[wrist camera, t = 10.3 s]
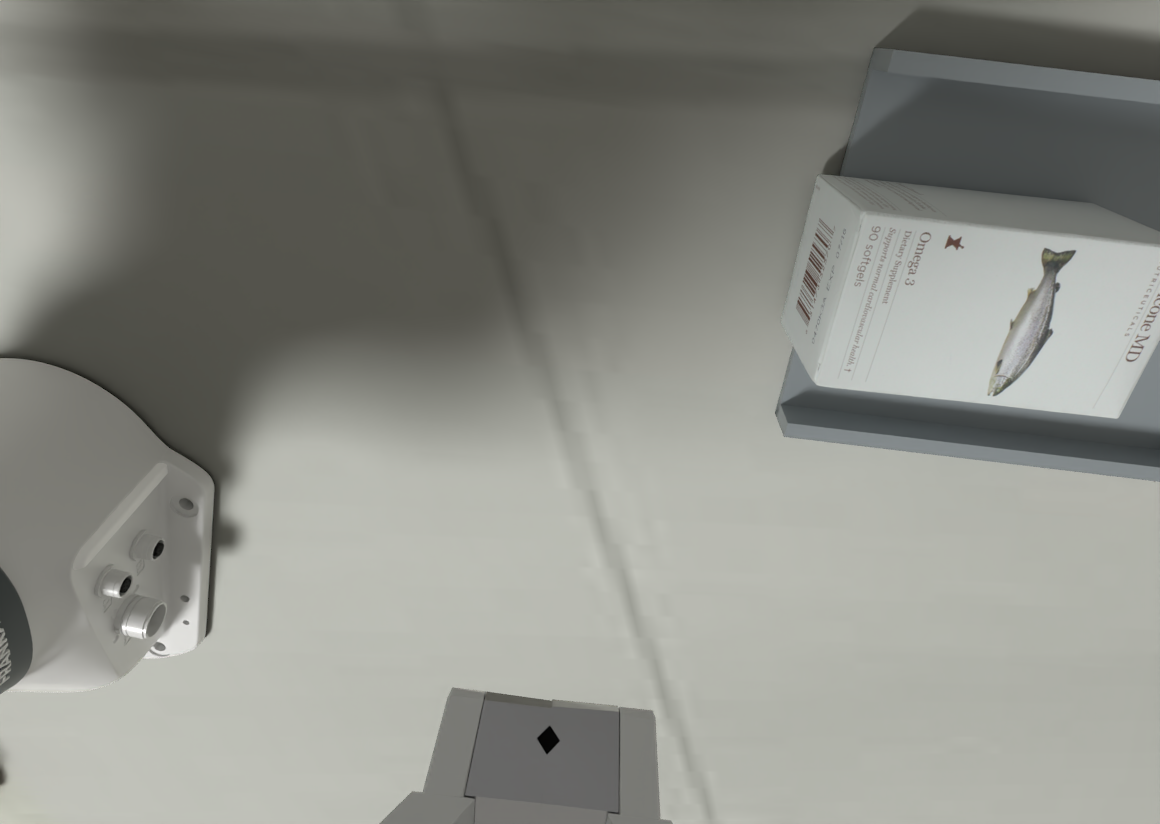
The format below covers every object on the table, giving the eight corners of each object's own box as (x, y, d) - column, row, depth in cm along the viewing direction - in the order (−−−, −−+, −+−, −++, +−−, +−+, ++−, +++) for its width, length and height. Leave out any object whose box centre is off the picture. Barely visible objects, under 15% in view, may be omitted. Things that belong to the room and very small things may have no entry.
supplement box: (863, 206, 25) (1218, 243, 25) (813, 171, 32) (1095, 199, 32) (812, 391, 29) (1124, 424, 29) (777, 325, 35) (1030, 351, 35)
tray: (1174, 460, 38) (1207, 487, 36) (775, 412, 38) (783, 436, 36) (1389, 108, 30) (1450, 115, 27) (874, 47, 30) (893, 49, 27)
